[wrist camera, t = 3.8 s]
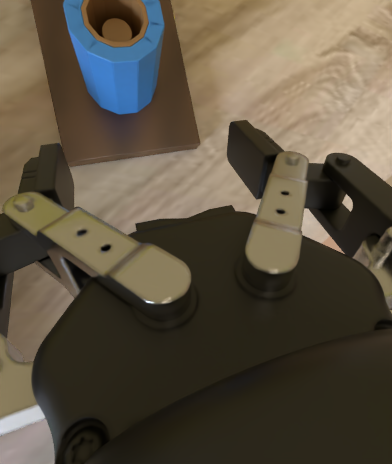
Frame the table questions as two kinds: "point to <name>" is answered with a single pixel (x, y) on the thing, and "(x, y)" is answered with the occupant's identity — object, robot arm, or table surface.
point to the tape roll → (117, 51)
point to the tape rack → (102, 120)
